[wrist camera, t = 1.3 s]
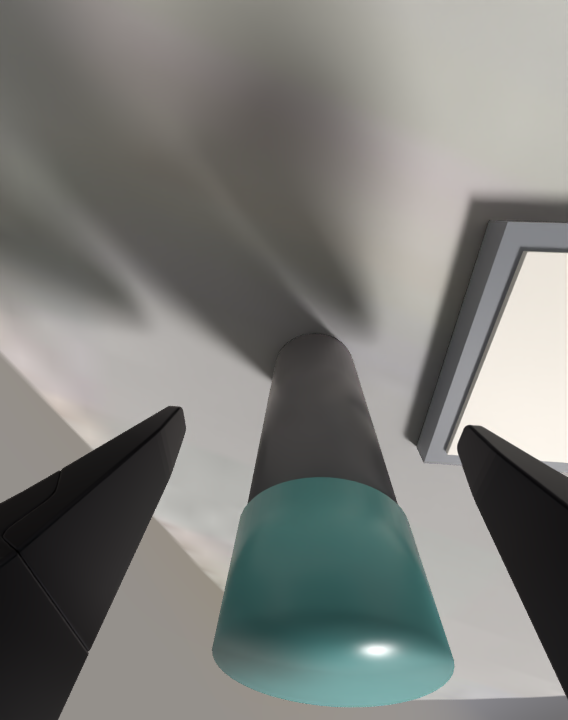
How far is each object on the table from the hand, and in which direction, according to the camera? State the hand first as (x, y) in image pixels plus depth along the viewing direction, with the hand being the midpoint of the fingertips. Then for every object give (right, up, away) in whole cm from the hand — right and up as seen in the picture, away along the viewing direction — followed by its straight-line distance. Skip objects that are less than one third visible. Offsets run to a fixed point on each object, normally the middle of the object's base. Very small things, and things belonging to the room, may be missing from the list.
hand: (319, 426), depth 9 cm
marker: (0, +2, +3) cm, 4 cm away
